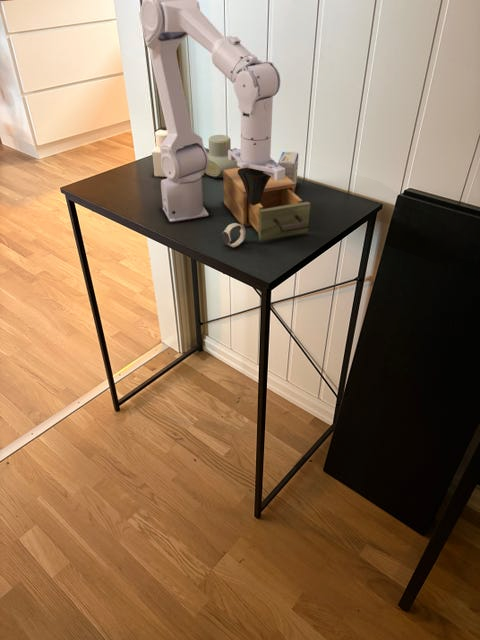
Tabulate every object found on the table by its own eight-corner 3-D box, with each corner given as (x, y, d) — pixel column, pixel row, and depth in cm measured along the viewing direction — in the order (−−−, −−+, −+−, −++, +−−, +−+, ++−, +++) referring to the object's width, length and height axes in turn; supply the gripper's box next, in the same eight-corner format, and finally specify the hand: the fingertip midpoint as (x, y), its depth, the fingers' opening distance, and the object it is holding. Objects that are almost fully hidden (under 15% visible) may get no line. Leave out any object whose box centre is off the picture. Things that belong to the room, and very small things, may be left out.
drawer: (318, 242, 106) (321, 213, 102) (269, 251, 103) (270, 222, 98) (284, 208, 118) (286, 181, 114) (240, 216, 115) (240, 188, 111)
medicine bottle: (160, 167, 142) (156, 124, 134) (185, 168, 141) (182, 125, 134) (154, 176, 136) (149, 132, 129) (179, 178, 136) (175, 133, 128)
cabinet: (292, 218, 117) (295, 183, 111) (243, 227, 113) (243, 191, 108) (270, 195, 127) (271, 163, 121) (223, 203, 123) (223, 169, 118)
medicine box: (293, 196, 126) (295, 163, 121) (276, 194, 127) (277, 161, 122) (296, 184, 132) (299, 152, 127) (280, 182, 133) (281, 150, 128)
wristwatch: (221, 246, 106) (221, 225, 103) (239, 239, 109) (239, 218, 105) (229, 251, 104) (229, 230, 101) (248, 244, 107) (248, 223, 104)
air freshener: (196, 173, 138) (194, 137, 132) (215, 165, 143) (214, 130, 137) (225, 183, 133) (224, 146, 126) (244, 174, 138) (245, 138, 131)
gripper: (215, 130, 94) (217, 197, 103) (266, 150, 86) (264, 221, 94) (243, 123, 98) (242, 188, 106) (295, 142, 89) (290, 210, 98)
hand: (254, 203), depth 101 cm, fingers closed
